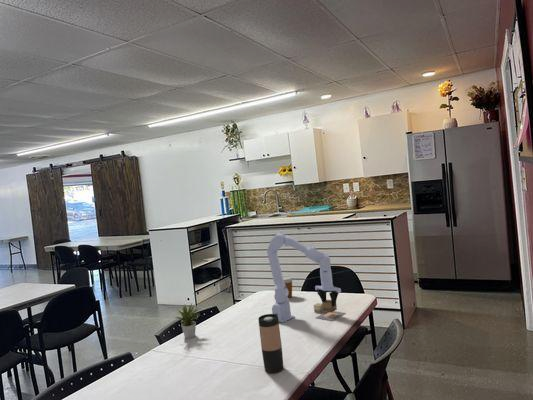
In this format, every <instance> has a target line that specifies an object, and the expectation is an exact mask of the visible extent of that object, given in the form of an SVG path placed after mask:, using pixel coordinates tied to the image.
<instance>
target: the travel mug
mask: <svg viewBox="0 0 533 400" xmlns="http://www.w3.org/2000/svg"><path fill="white" fill-rule="evenodd" d="M257 319H258V328H259V329H258V330H259V337H260V338H259V339H260V347H261V355H262V359H263V361H262V362H263V367H264V371H265V373H267V374H269V375H270V374H272V375H273V374H279V373H281V372H283V370H284V358H283V347H282V338H281V331H280V322H279V321H278V316H277V315H276V314H272V313H267V314H263V315H260V316H259V317H258V318H257Z"/></svg>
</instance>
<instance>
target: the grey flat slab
mask: <svg viewBox="0 0 533 400" xmlns="http://www.w3.org/2000/svg"><path fill="white" fill-rule="evenodd" d="M343 314H344V315H346V312H343V311H342V312H341V311H337V310H335V311H333V312H325V311H324V312H322V313H320V315H317V316H315V319H319V320H323V321H328V322H329V321H330V322H333V321H336V319H339V318H340V317H342V316H344V315H343Z"/></svg>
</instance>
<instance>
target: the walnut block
mask: <svg viewBox="0 0 533 400" xmlns="http://www.w3.org/2000/svg"><path fill="white" fill-rule="evenodd" d="M321 303H322V305H323V311H324V313H325V312H333V311H337V310H338V308H337V307H338V306H337V305H336V306H332V301H331V299H326V301H324V302H322V301H321Z"/></svg>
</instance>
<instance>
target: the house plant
mask: <svg viewBox="0 0 533 400" xmlns="http://www.w3.org/2000/svg"><path fill="white" fill-rule="evenodd" d="M195 306H196V303H195V304H193V303H191V304H190V305H189V306H188V307H189V308H188V309H187V306H186V304H185V303H184V304H183V305H182V308H181V310H182V311H183V312H182V311H181V310H180V309H178V308H177V309H176V311H177V313H178V314H180V316H181V317H180V316H176V317H175V319H178V320H180V323H181V325H180V326H181V328H182V329H181V330H182V332H183V336H184V338H185V339H191V338H194V337H196V328H197V327H196V325H197V323H196V321H194V319H195V320H198V317H200V312H199V313H196V312H198V311H200V310H202V308H200V307H201V306H200V305H199V306H197V307H196V308H195Z"/></svg>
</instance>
